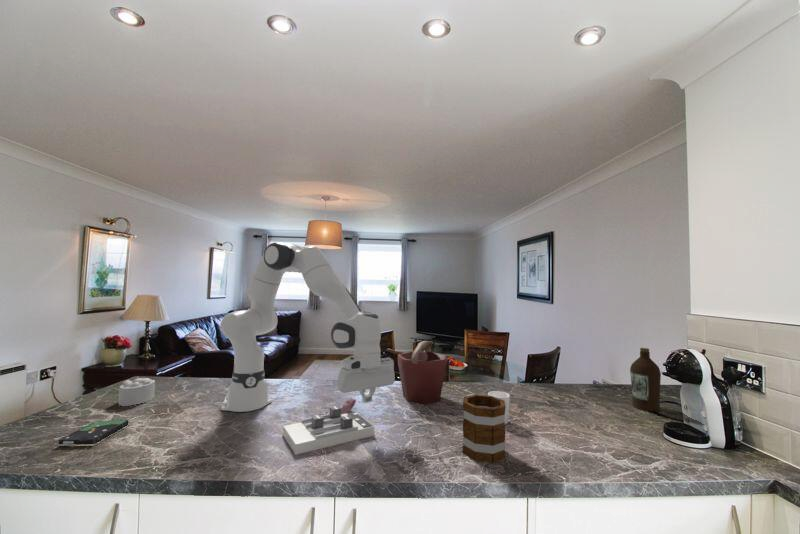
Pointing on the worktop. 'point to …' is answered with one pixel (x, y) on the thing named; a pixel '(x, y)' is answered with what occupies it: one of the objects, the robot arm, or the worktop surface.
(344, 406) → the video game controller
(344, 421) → the tab
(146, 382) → the lumpy-topped squat cylinder
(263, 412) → the worktop surface
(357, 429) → the switch bank
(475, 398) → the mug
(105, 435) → the disk drive
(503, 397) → the white cup
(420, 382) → the bucket
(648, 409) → the olive oil
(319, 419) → the middle tab
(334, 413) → the tab
